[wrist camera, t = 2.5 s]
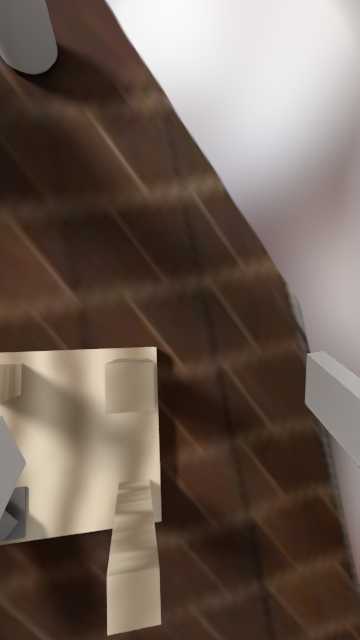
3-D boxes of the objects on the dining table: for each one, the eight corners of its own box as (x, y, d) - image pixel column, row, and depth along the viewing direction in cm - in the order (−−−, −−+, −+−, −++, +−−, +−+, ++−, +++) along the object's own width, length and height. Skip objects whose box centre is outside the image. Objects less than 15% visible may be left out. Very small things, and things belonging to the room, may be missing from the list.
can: (69, 69, 38) (39, -57, 26) (18, 86, 36) (-38, -39, 25) (42, 25, 38) (1, -121, 26) (-10, 40, 37) (-78, -107, 25)
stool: (-19, 533, 30) (-177, 720, 15) (-13, 353, 32) (-145, 355, 17) (159, 508, 33) (179, 640, 18) (154, 347, 36) (169, 344, 20)
